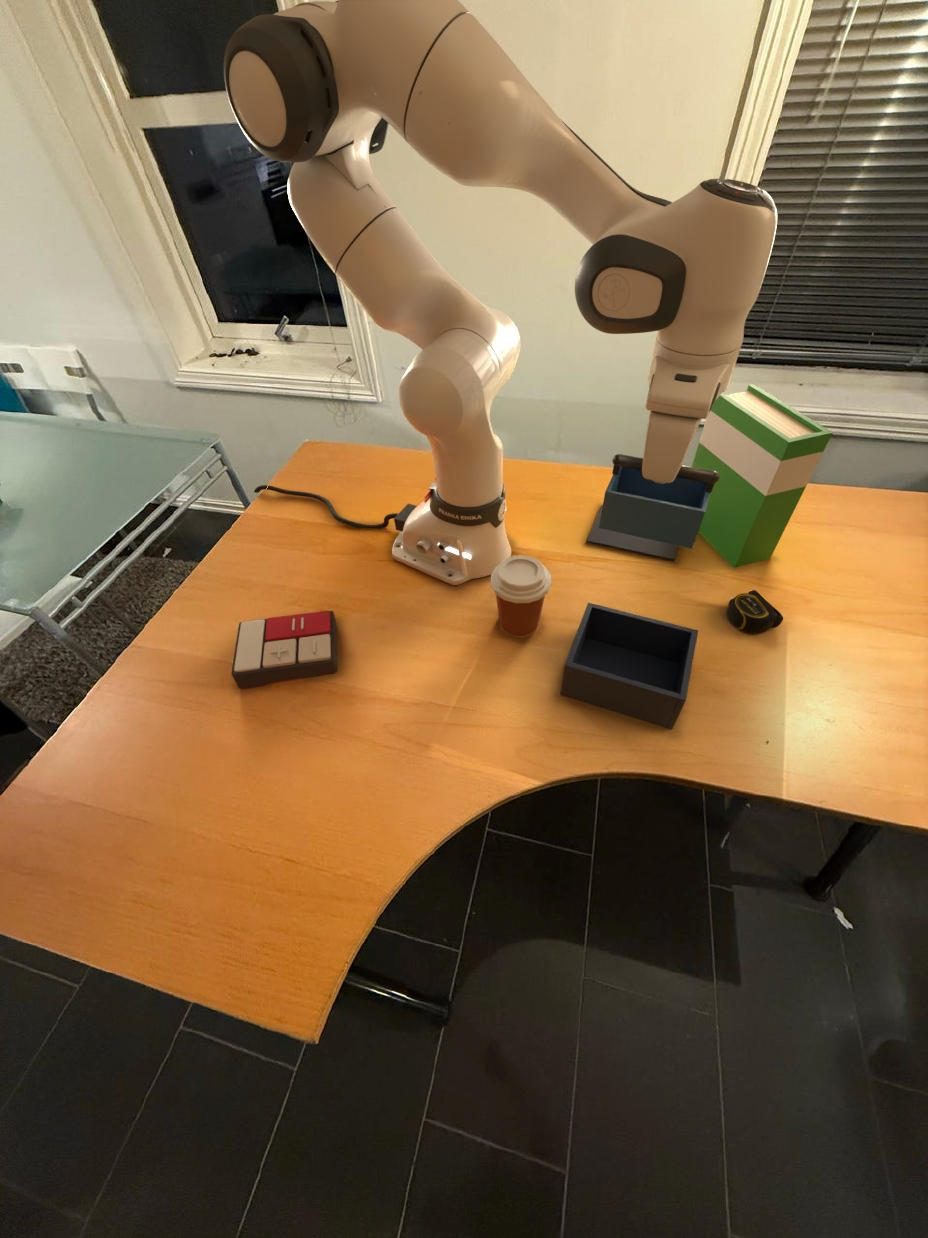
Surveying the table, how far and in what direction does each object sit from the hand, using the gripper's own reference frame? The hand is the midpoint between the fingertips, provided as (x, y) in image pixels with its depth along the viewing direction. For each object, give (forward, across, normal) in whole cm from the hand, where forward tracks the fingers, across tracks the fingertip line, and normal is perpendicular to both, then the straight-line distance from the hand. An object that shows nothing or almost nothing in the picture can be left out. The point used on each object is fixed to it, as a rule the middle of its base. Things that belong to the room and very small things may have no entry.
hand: (662, 474), depth 69 cm
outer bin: (+25, +16, +3) cm, 29 cm away
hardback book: (+25, -25, +12) cm, 37 cm away
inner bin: (+7, 0, 0) cm, 7 cm away
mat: (+25, -19, -3) cm, 32 cm away
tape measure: (+25, -4, +19) cm, 31 cm away
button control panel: (+25, +30, -47) cm, 61 cm away
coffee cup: (+25, +11, -15) cm, 31 cm away
